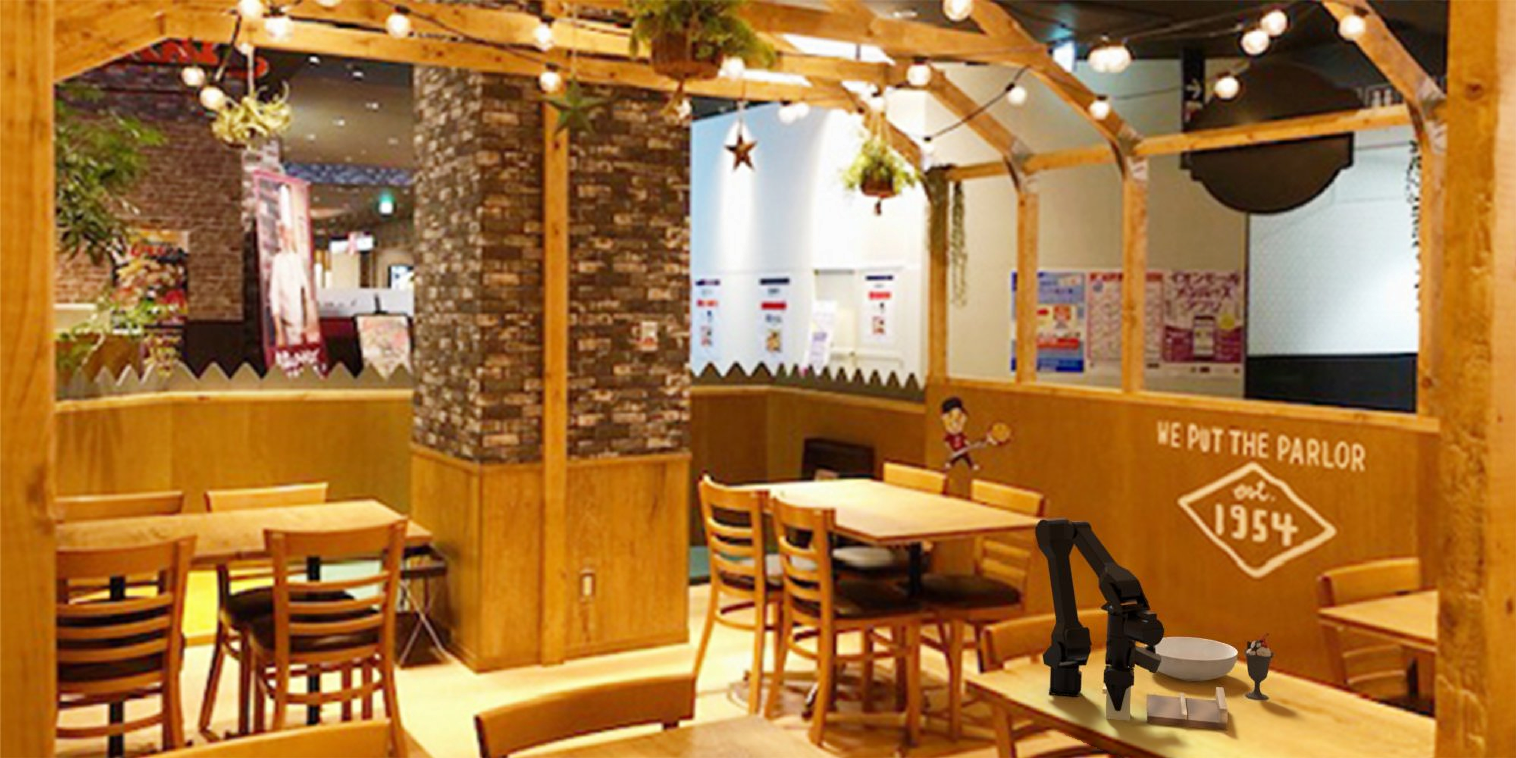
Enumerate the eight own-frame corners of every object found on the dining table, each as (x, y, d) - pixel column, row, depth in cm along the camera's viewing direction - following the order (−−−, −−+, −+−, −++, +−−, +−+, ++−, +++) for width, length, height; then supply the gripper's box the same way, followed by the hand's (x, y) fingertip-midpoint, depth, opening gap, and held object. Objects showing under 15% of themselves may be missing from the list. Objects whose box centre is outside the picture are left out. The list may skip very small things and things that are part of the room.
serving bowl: (1161, 659, 340) (1162, 631, 339) (1247, 674, 327) (1249, 645, 327) (1131, 677, 323) (1132, 649, 322) (1220, 694, 311) (1221, 664, 310)
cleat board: (1146, 722, 289) (1147, 701, 289) (1146, 700, 305) (1147, 680, 304) (1226, 730, 285) (1227, 709, 285) (1222, 707, 300) (1223, 687, 300)
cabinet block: (1101, 717, 292) (1102, 681, 292) (1102, 710, 297) (1103, 674, 297) (1129, 720, 291) (1131, 683, 290) (1130, 713, 296) (1131, 677, 295)
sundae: (1275, 702, 305) (1278, 636, 304) (1243, 700, 306) (1246, 634, 305) (1270, 693, 311) (1273, 628, 310) (1239, 691, 313) (1241, 626, 312)
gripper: (1160, 648, 281) (1157, 723, 283) (1159, 627, 299) (1156, 697, 300) (1104, 644, 284) (1102, 718, 286) (1106, 623, 302) (1104, 692, 303)
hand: (1118, 706), depth 294 cm, fingers open, 6 cm apart
